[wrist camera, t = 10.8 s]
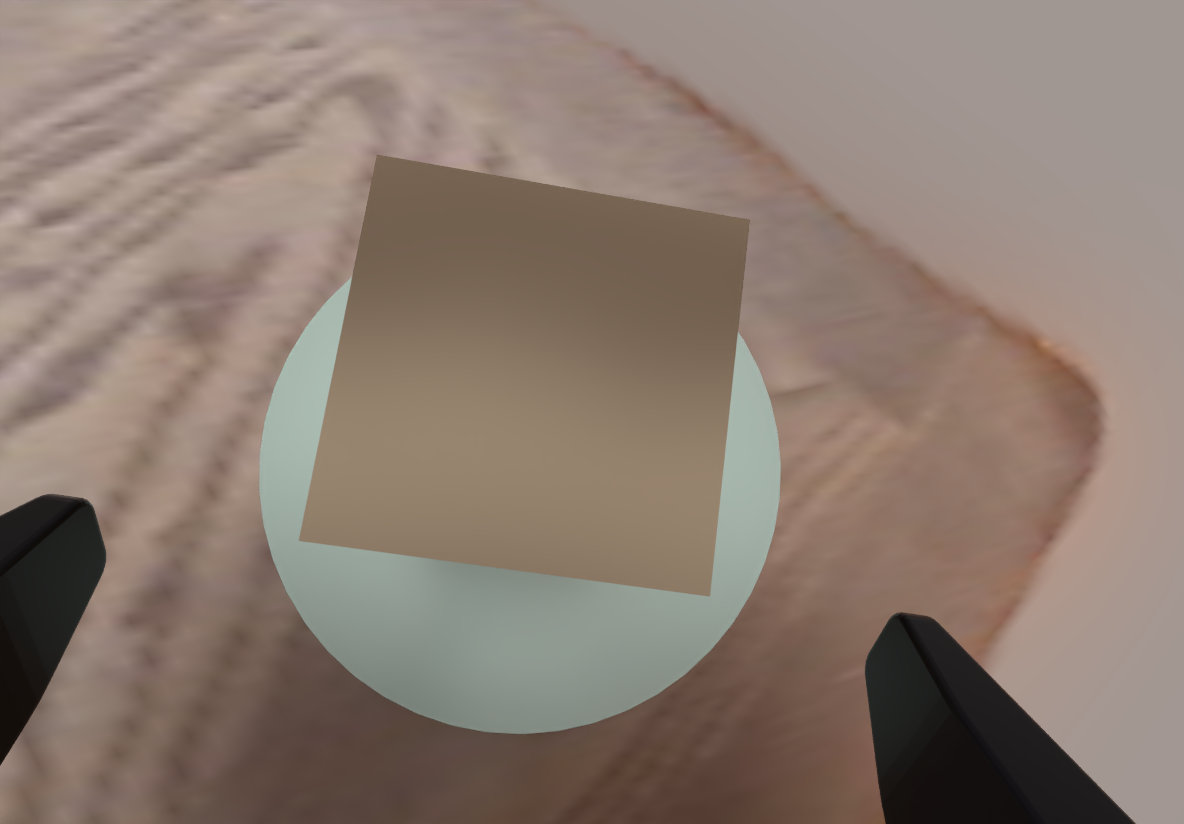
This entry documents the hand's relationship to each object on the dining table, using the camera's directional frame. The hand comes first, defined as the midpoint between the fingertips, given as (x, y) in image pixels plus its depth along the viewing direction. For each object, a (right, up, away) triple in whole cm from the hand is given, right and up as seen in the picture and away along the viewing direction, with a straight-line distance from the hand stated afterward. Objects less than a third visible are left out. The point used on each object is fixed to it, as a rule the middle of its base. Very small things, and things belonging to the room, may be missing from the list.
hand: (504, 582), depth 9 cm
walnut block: (-1, +1, +12) cm, 12 cm away
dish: (-1, 0, +13) cm, 13 cm away
